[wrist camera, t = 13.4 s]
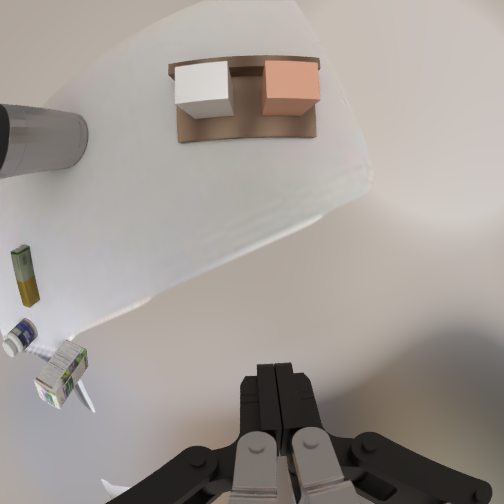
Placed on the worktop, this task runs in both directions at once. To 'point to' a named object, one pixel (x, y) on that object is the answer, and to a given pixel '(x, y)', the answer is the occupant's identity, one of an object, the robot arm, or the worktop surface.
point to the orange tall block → (289, 87)
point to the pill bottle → (19, 338)
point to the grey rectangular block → (204, 90)
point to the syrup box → (61, 374)
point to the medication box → (25, 275)
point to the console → (245, 106)
